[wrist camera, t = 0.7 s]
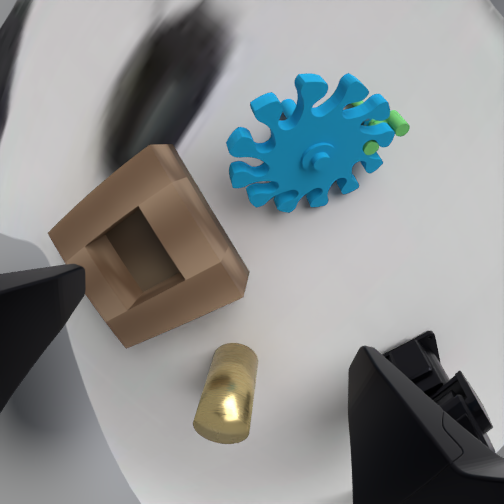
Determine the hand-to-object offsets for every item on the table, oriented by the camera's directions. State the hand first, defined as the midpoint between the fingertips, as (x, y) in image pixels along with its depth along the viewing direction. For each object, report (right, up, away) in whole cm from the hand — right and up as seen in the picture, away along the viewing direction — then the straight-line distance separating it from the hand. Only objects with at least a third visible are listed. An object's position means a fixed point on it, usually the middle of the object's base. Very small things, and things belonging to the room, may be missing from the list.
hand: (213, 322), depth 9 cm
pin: (0, -8, +17) cm, 19 cm away
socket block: (-7, +3, +14) cm, 16 cm away
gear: (+5, +9, +11) cm, 15 cm away
